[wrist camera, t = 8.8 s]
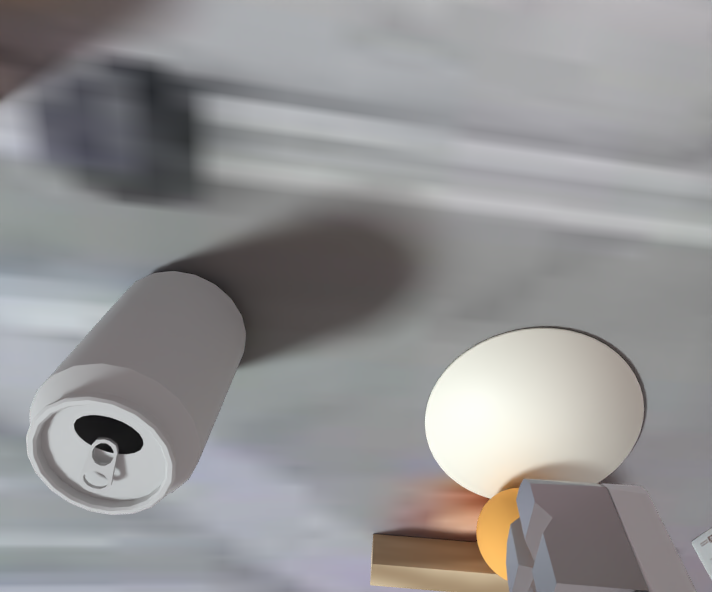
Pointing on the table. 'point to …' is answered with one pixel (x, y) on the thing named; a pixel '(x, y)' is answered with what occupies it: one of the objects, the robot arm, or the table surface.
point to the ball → (497, 529)
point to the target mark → (533, 411)
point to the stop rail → (432, 565)
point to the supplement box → (704, 550)
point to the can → (137, 395)
